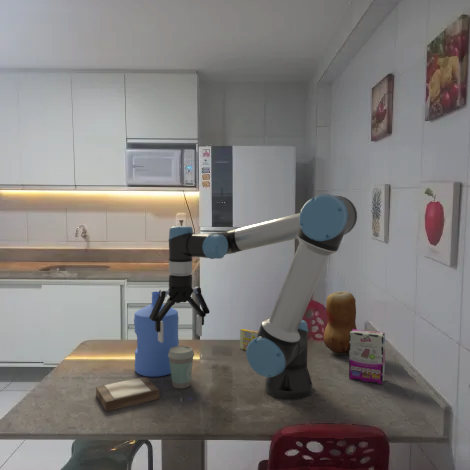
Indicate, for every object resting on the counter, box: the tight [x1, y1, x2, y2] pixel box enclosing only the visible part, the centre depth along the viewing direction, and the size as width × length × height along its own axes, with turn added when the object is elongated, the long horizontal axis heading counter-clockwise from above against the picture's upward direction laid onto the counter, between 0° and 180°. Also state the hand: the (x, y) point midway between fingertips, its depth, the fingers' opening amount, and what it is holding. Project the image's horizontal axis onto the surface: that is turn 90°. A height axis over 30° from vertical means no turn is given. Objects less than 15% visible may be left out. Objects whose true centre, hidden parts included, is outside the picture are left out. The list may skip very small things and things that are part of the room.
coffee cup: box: [168, 345, 195, 389], centre depth 141 cm, size 9×8×12 cm
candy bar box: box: [348, 329, 386, 385], centre depth 146 cm, size 11×5×16 cm, turn 64°
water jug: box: [133, 291, 180, 378], centre depth 154 cm, size 16×16×28 cm
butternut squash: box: [323, 290, 358, 356], centre depth 171 cm, size 14×13×25 cm
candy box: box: [239, 328, 259, 351], centre depth 174 cm, size 16×2×8 cm, turn 59°
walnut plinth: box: [95, 376, 160, 412], centre depth 132 cm, size 12×16×3 cm
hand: (180, 338), depth 141 cm, fingers open, 13 cm apart
